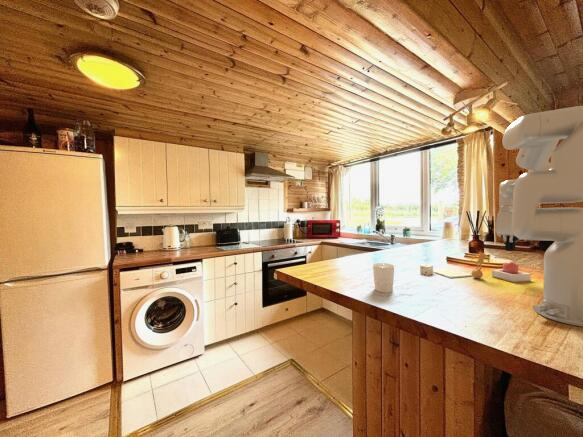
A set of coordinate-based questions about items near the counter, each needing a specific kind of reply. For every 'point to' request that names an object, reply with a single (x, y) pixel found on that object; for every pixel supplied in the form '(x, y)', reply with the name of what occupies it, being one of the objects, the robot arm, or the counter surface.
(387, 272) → the white cup
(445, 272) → the tile
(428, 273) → the ivory die
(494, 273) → the popper box
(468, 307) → the counter surface
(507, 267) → the dome button
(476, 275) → the figurine
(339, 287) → the counter surface
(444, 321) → the counter surface
